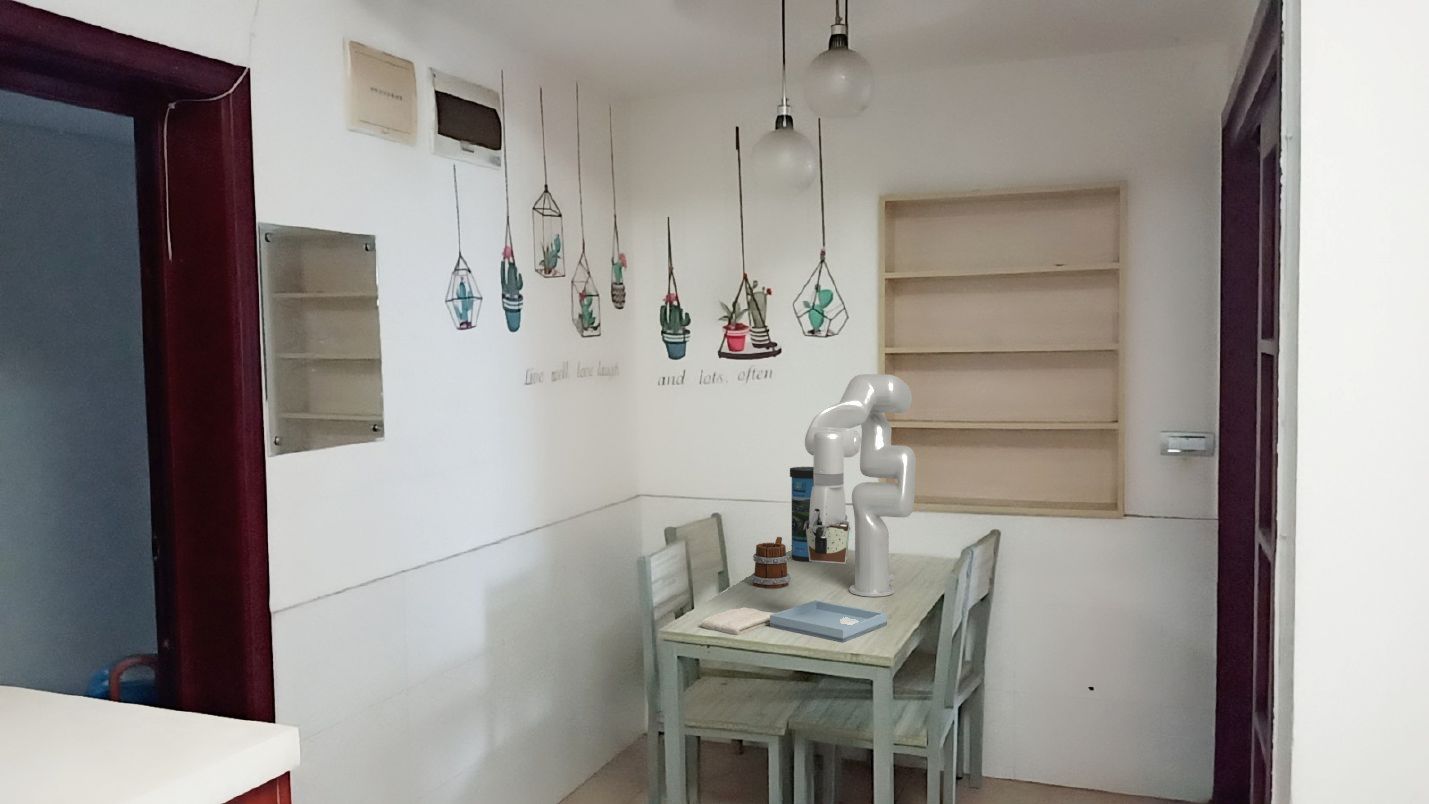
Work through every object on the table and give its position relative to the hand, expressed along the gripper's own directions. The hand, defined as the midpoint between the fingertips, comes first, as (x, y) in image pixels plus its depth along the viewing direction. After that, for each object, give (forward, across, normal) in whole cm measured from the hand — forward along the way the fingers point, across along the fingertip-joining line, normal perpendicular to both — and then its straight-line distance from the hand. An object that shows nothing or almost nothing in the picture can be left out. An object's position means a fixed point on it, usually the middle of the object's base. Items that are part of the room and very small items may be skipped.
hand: (828, 550), depth 267 cm
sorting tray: (+19, 0, 0) cm, 19 cm away
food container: (+3, -1, 0) cm, 3 cm away
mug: (+20, -29, -40) cm, 53 cm away
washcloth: (+20, +13, -18) cm, 30 cm away
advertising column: (+20, -65, -53) cm, 86 cm away
